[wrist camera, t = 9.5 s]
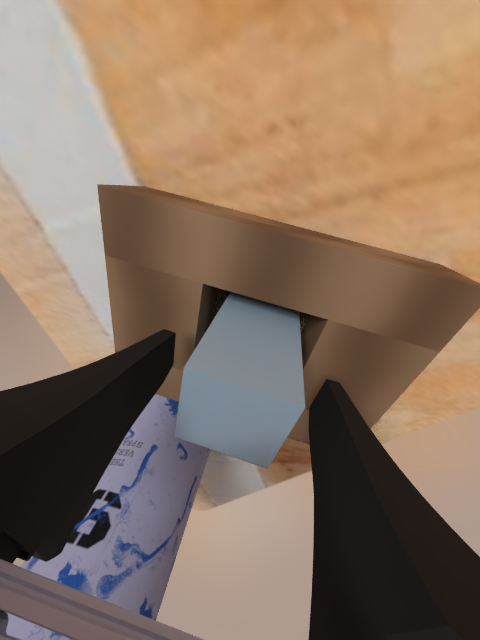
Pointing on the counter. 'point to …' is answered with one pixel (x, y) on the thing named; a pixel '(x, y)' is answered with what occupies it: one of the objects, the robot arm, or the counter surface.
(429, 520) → the robot arm
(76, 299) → the counter surface
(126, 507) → the aerosol can
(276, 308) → the slate peg
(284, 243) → the walnut socket holder
